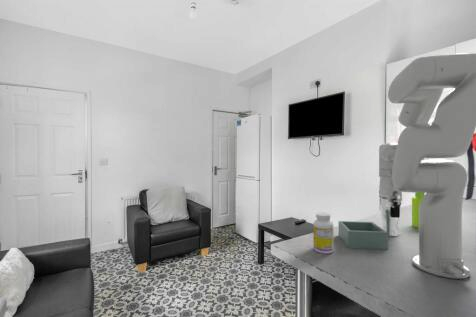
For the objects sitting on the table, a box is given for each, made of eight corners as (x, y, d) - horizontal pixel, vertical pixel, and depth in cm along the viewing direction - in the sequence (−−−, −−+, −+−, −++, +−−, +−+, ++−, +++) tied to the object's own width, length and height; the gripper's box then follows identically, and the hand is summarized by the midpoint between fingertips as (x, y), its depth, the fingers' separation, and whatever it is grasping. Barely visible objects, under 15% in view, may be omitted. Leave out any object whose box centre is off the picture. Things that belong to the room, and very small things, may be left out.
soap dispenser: (413, 228, 105) (413, 183, 105) (410, 223, 111) (410, 182, 111) (430, 229, 103) (430, 184, 102) (426, 225, 109) (426, 182, 108)
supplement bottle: (317, 245, 87) (317, 210, 87) (336, 249, 83) (336, 213, 82) (310, 251, 82) (310, 214, 82) (329, 256, 77) (329, 217, 77)
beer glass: (394, 231, 101) (393, 196, 101) (403, 237, 94) (403, 199, 94) (377, 231, 102) (376, 196, 102) (385, 236, 95) (385, 199, 95)
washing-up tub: (387, 249, 82) (387, 232, 82) (348, 247, 84) (348, 231, 84) (372, 236, 95) (372, 222, 95) (338, 235, 97) (338, 221, 97)
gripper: (411, 175, 89) (410, 220, 89) (389, 171, 106) (389, 208, 106) (389, 175, 90) (389, 219, 91) (371, 171, 107) (371, 208, 108)
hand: (389, 213), depth 98 cm, fingers open, 9 cm apart
